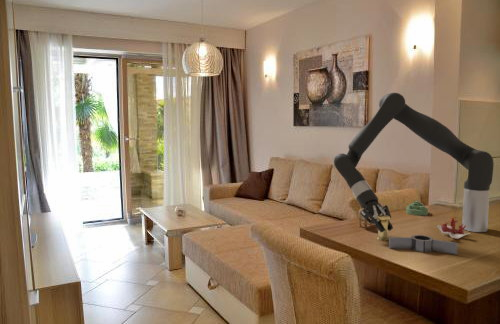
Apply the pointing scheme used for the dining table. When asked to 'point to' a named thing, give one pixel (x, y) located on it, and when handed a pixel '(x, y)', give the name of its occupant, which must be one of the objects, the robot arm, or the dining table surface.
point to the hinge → (423, 244)
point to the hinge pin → (384, 221)
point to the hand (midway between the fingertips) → (387, 230)
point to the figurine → (453, 229)
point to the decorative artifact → (416, 209)
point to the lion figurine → (361, 219)
